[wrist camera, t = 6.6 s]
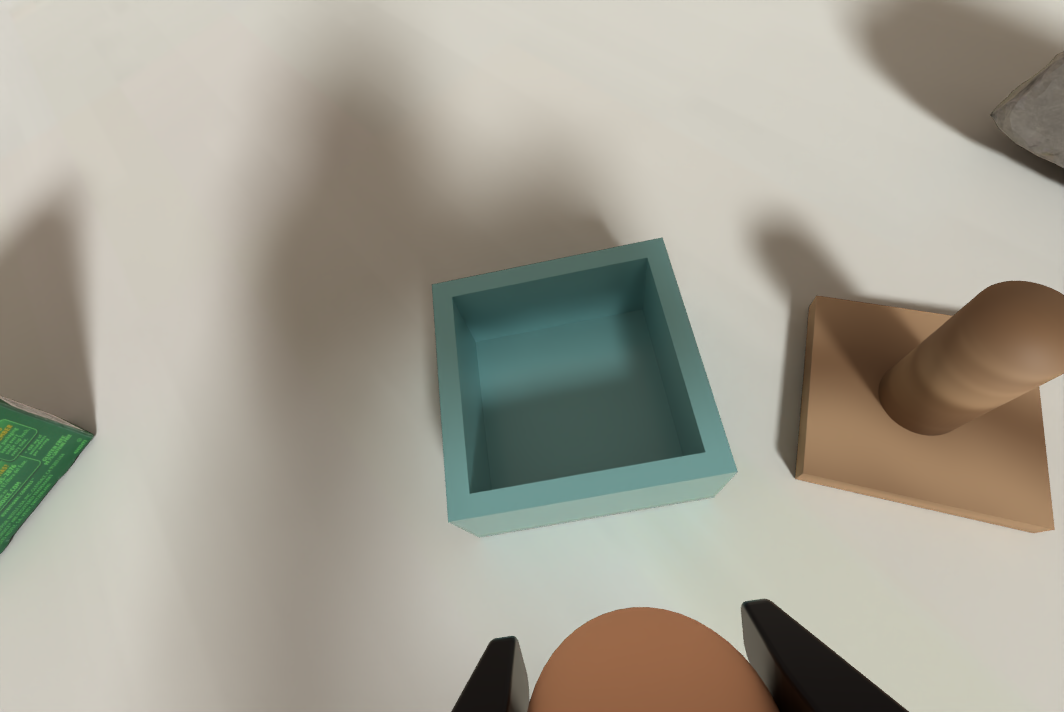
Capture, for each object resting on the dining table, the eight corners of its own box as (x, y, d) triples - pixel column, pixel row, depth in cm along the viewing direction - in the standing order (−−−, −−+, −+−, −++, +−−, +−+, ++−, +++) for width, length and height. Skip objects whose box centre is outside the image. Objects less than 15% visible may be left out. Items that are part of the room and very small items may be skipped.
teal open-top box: (713, 497, 21) (737, 471, 17) (479, 537, 21) (448, 522, 17) (654, 296, 25) (662, 237, 21) (460, 334, 26) (431, 284, 22)
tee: (1033, 533, 19) (1242, 497, 13) (794, 478, 21) (873, 424, 14) (1015, 338, 22) (1177, 232, 16) (809, 307, 24) (878, 200, 17)
